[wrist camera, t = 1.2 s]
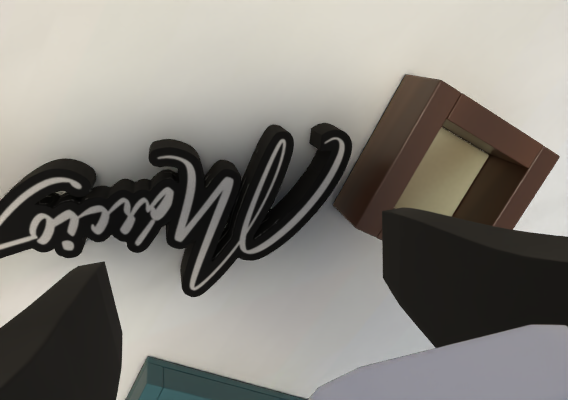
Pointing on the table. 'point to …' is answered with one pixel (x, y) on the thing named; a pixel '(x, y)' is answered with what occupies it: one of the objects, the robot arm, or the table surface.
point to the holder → (193, 385)
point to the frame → (443, 161)
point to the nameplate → (177, 204)
